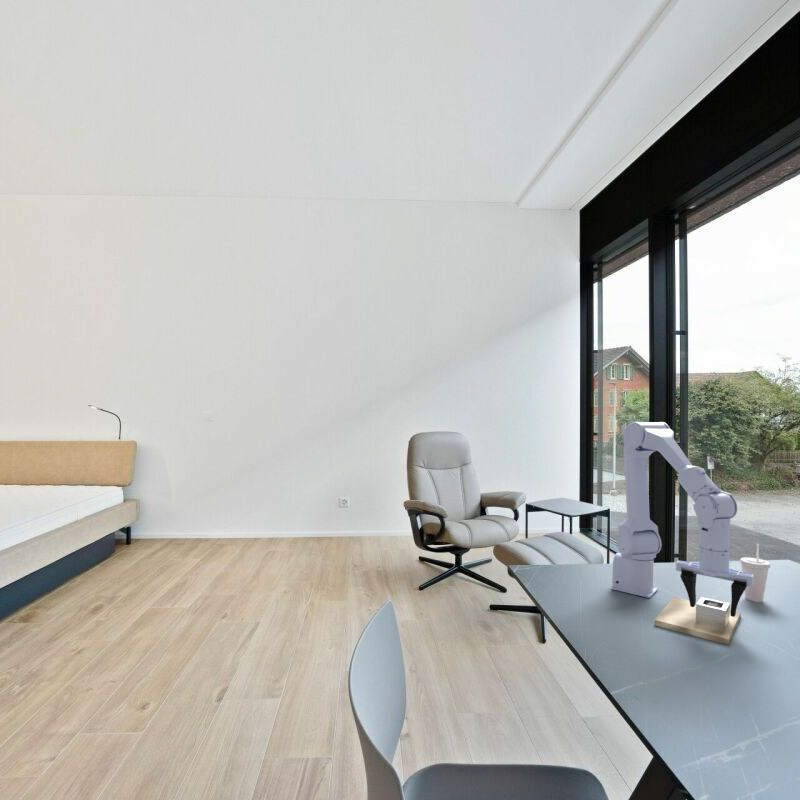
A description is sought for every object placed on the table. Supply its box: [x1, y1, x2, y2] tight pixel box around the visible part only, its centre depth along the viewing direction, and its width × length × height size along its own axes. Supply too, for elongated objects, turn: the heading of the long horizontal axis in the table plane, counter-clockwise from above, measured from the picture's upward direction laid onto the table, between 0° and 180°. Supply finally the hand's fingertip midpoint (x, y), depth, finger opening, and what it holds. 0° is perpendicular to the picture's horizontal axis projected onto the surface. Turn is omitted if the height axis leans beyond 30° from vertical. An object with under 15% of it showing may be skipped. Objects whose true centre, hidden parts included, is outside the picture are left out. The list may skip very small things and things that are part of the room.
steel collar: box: [696, 596, 731, 630], centre depth 117 cm, size 6×6×4 cm
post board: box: [654, 596, 742, 646], centre depth 120 cm, size 14×18×5 cm
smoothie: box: [739, 543, 771, 603], centre depth 135 cm, size 6×6×14 cm
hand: (712, 610), depth 117 cm, fingers open, 7 cm apart
